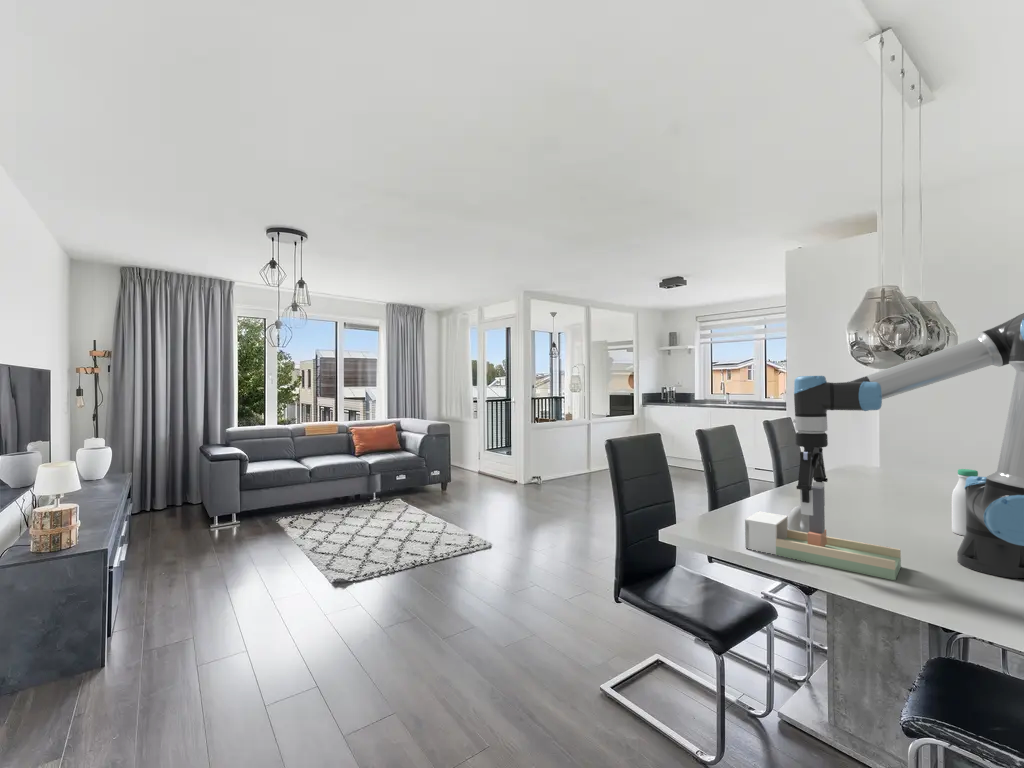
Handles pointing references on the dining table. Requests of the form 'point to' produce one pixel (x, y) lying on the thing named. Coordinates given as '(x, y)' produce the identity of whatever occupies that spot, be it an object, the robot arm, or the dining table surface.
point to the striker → (817, 519)
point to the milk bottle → (960, 502)
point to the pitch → (819, 547)
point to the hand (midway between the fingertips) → (813, 509)
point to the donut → (798, 520)
